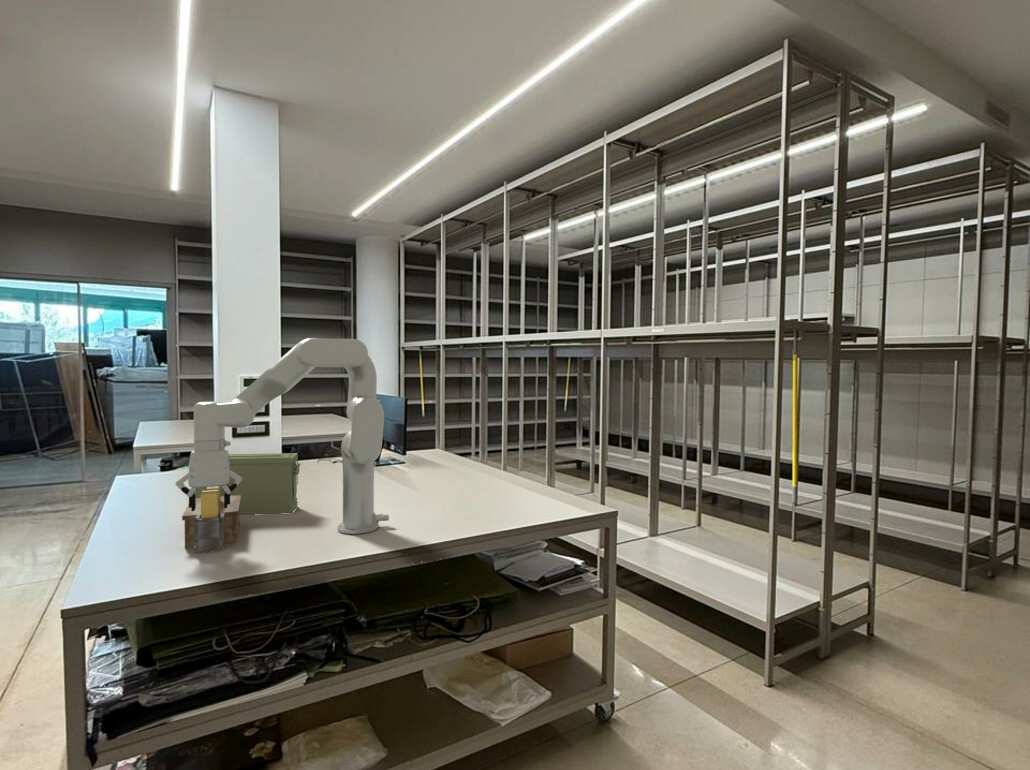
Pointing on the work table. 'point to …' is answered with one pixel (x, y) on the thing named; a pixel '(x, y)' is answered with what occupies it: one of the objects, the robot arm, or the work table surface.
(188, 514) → the lid
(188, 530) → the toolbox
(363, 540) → the work table surface
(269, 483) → the ammunition box
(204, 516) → the yellow rectangular block
